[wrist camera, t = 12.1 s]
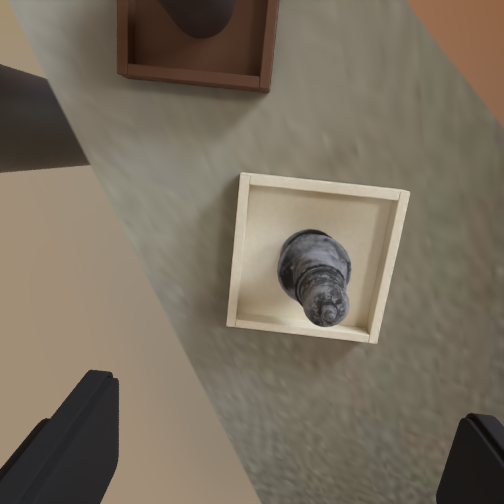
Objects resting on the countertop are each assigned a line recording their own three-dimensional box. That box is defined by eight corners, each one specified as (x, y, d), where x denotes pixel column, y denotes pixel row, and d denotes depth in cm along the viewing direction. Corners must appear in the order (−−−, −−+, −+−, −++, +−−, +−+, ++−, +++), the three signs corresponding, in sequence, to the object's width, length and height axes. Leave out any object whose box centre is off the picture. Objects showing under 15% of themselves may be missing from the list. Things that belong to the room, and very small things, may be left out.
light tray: (228, 316, 35) (226, 326, 33) (242, 171, 31) (240, 173, 29) (371, 333, 34) (376, 344, 32) (401, 189, 31) (410, 192, 29)
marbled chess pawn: (357, 256, 32) (405, 317, 20) (309, 301, 33) (329, 382, 22) (309, 211, 31) (332, 248, 20) (262, 259, 32) (257, 320, 21)
